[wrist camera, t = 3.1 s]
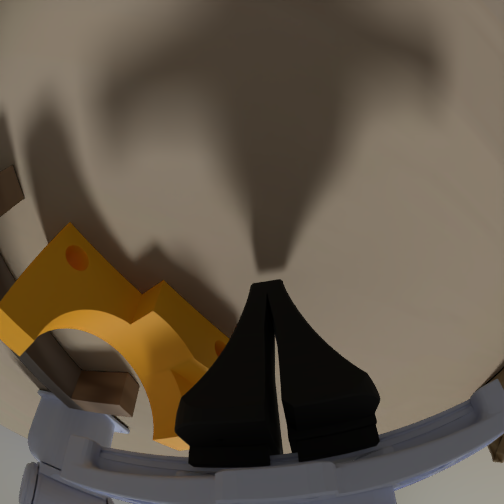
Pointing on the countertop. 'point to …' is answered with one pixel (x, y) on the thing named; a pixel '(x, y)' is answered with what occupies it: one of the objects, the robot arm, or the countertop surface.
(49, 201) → the countertop surface
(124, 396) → the dark brown long trough
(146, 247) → the countertop surface
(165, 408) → the yellow bracket
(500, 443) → the paper package
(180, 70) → the countertop surface
